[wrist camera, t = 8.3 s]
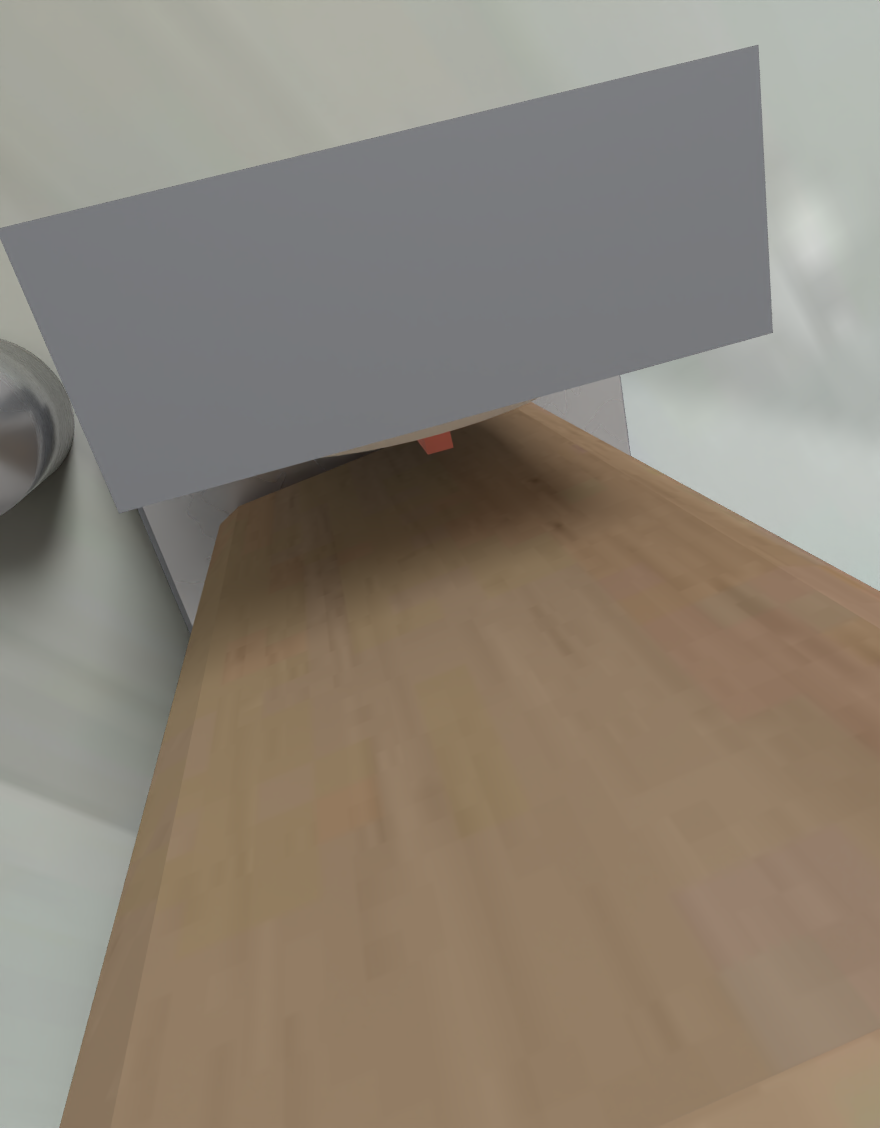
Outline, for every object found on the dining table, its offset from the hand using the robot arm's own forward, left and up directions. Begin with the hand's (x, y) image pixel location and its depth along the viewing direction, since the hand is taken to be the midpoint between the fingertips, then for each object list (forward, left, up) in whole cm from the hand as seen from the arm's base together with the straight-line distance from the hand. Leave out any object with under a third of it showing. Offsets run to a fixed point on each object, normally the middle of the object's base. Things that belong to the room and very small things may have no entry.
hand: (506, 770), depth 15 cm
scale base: (0, +2, -15) cm, 15 cm away
